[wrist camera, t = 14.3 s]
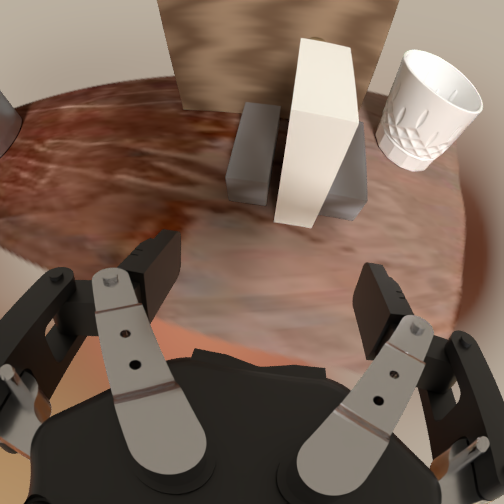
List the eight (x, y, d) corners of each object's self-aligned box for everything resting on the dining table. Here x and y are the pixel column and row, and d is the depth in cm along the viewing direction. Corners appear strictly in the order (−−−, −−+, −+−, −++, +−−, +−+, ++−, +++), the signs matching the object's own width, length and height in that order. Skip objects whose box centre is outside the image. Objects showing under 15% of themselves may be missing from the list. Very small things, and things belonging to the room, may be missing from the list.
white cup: (431, 190, 24) (487, 129, 14) (362, 153, 25) (400, 75, 15) (436, 140, 26) (478, 81, 16) (377, 107, 27) (406, 39, 17)
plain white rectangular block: (273, 221, 23) (291, 109, 11) (284, 152, 25) (300, 37, 13) (311, 228, 22) (358, 123, 11) (317, 157, 25) (350, 47, 13)
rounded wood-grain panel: (151, 191, 23) (66, 36, 8) (189, 97, 27) (162, -35, 12) (352, 220, 23) (455, 65, 7) (351, 117, 26) (396, -15, 11)
